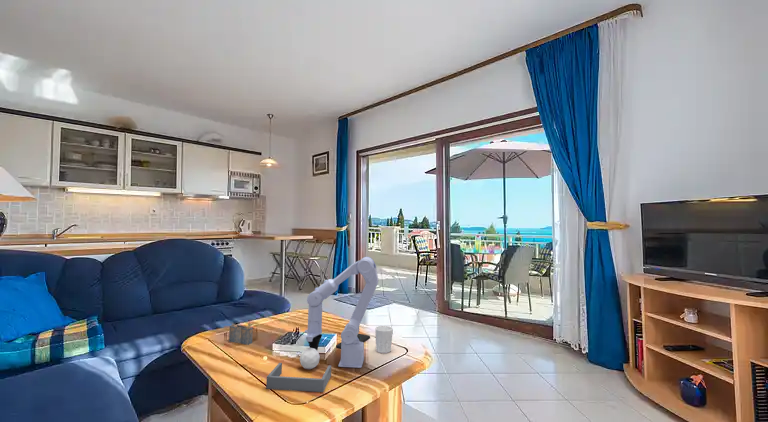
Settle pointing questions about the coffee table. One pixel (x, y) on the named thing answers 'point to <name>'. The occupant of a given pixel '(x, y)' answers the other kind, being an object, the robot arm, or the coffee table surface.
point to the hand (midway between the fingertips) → (313, 353)
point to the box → (296, 381)
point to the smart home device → (360, 336)
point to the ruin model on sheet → (241, 334)
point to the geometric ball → (309, 358)
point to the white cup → (383, 339)
